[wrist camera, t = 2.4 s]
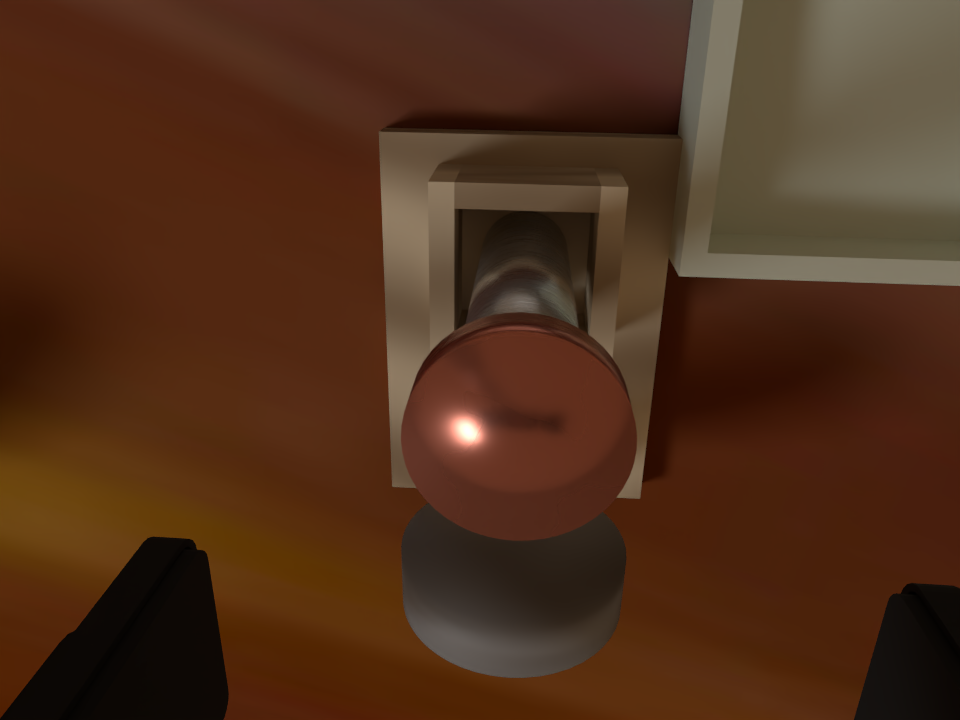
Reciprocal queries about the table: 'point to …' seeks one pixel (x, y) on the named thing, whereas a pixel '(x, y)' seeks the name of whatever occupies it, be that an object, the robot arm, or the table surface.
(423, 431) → the lock pin
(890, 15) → the tray
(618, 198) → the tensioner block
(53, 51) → the table surface
